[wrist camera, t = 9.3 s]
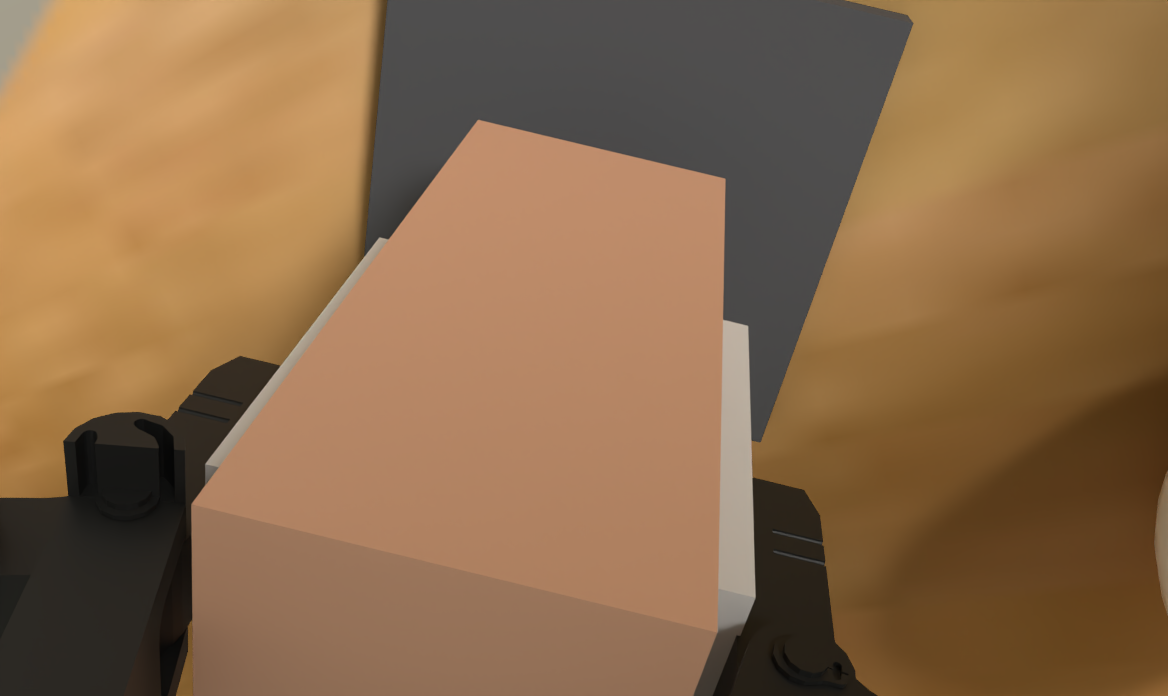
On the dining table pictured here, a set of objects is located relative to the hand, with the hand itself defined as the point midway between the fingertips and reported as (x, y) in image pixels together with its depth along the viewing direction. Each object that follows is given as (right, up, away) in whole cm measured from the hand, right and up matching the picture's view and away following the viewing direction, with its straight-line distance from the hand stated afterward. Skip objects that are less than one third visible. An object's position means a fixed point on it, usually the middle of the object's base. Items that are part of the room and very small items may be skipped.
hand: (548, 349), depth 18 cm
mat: (+1, +4, +6) cm, 8 cm away
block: (+1, +2, +3) cm, 4 cm away
